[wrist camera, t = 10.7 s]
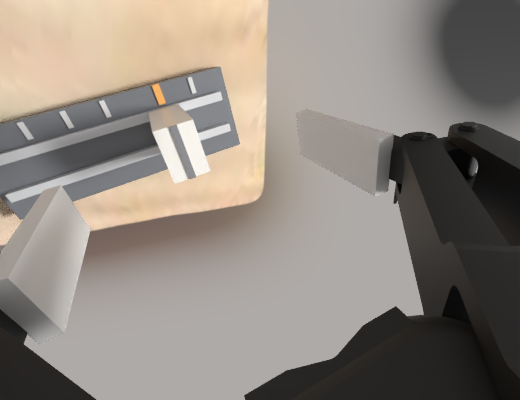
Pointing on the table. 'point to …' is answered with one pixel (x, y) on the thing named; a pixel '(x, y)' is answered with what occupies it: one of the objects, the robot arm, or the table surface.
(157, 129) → the fader knob
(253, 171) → the table surface
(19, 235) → the robot arm
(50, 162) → the slider board
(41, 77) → the table surface
